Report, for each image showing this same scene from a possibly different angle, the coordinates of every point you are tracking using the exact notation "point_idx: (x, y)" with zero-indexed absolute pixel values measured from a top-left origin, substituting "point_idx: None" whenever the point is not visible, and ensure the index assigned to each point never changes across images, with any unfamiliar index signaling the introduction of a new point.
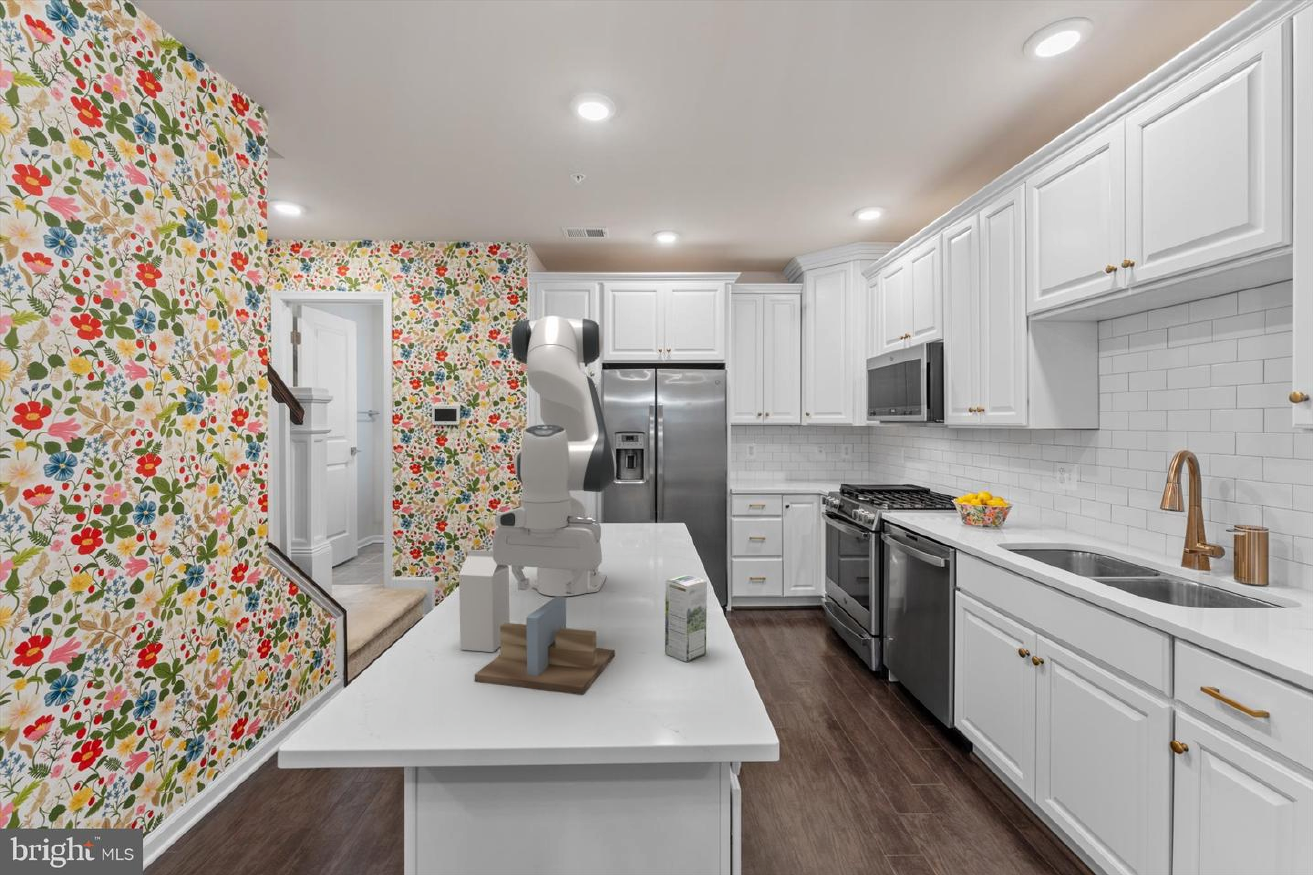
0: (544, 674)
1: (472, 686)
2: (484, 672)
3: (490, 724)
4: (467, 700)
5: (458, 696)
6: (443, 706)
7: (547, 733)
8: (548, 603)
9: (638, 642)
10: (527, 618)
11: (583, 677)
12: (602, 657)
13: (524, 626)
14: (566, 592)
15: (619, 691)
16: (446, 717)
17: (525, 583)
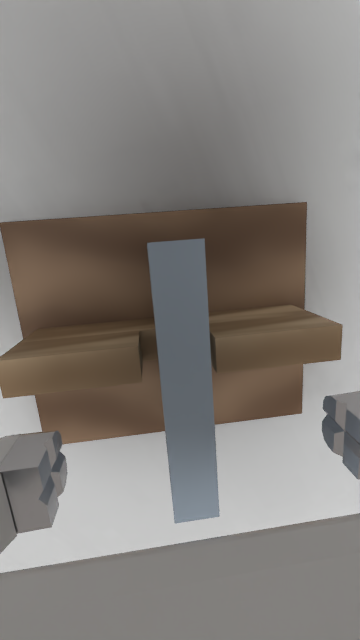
0: None
1: (63, 454)
2: (60, 431)
3: (189, 537)
4: (96, 497)
5: (68, 493)
6: (70, 527)
7: (287, 523)
8: (169, 355)
9: (335, 82)
10: (179, 519)
11: (287, 376)
12: (291, 262)
13: (88, 370)
14: (330, 444)
15: (357, 370)
16: (104, 549)
17: (55, 505)
